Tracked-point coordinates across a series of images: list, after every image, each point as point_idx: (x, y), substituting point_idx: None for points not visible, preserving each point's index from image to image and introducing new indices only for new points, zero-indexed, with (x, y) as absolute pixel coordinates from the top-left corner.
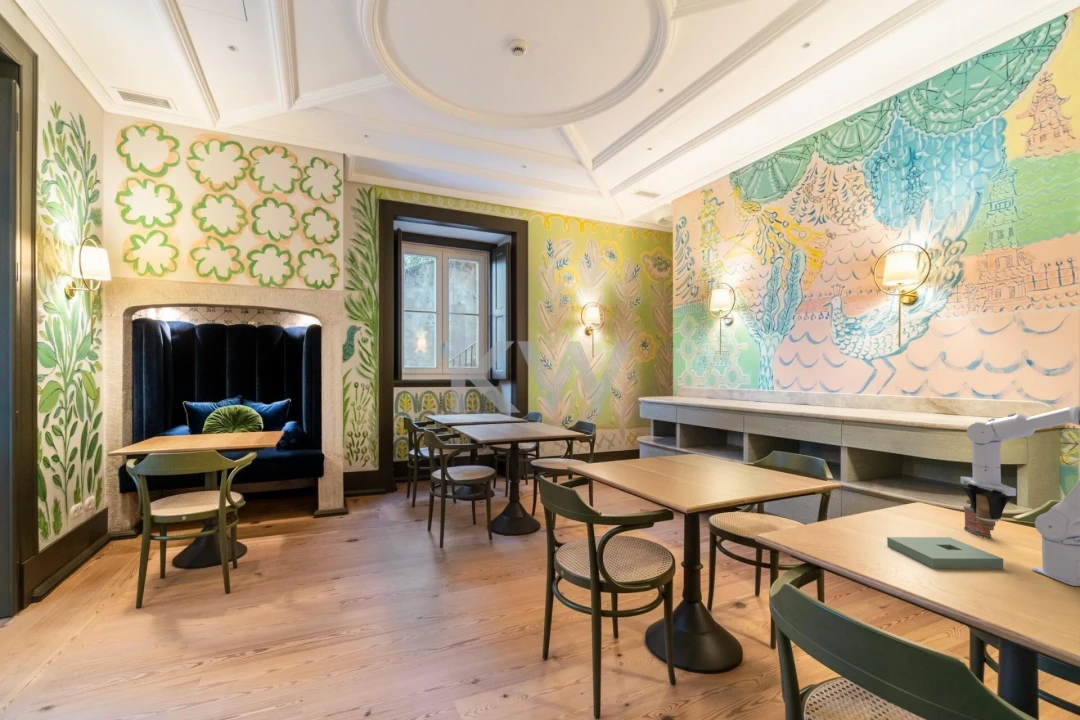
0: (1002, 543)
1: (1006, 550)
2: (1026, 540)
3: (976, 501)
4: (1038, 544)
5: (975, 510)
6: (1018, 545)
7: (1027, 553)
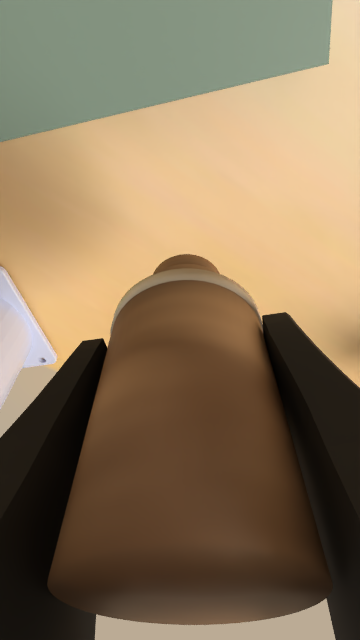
0: (333, 355)
1: None
2: None
3: (233, 418)
4: None
5: (268, 328)
6: None
7: None
